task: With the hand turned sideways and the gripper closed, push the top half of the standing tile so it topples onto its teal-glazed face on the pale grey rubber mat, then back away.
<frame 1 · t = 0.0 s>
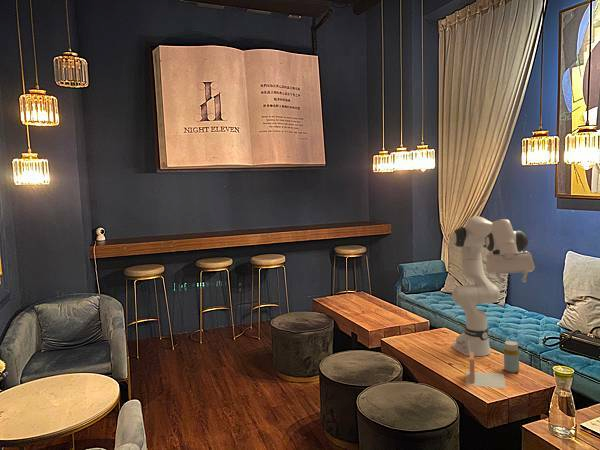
hand: (513, 282, 213), 54 cm above the table, tool tilted 30°, fingers open, 8 cm apart
tile: (472, 378, 241), resting on mat
bottle: (511, 371, 247), on the table
mat: (485, 380, 239), on the table
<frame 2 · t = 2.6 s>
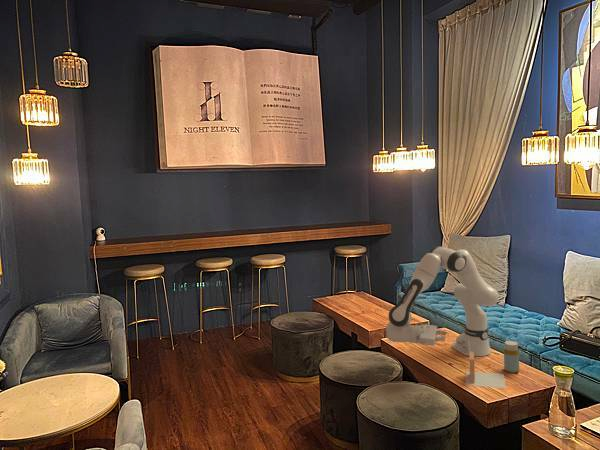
hand: (445, 335, 243), 22 cm above the table, tool horizontal, fingers open, 6 cm apart
nothing on the table moved.
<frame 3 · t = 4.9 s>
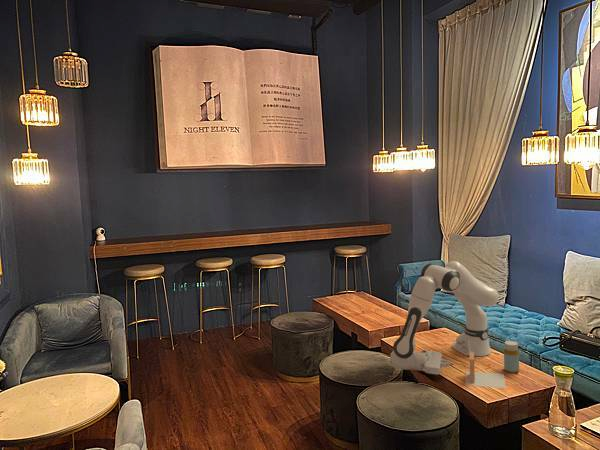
hand: (450, 363, 244), 7 cm above the table, tool horizontal, fingers closed
nothing on the table moved.
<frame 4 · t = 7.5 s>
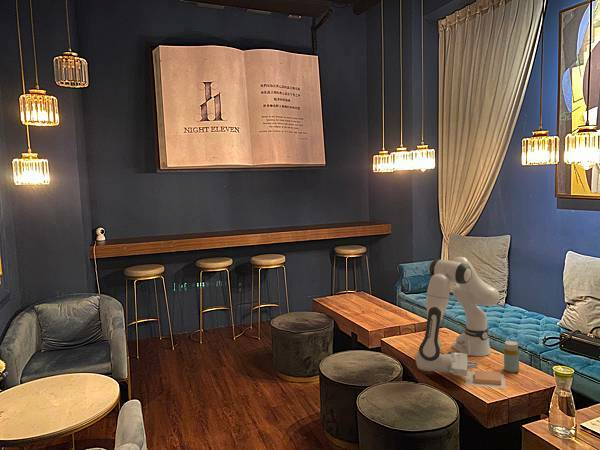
hand: (477, 365, 240), 7 cm above the table, tool horizontal, fingers closed
tile: (474, 376, 241), point 2 cm above the table, tilted 90°, touching mat
everything else where it was.
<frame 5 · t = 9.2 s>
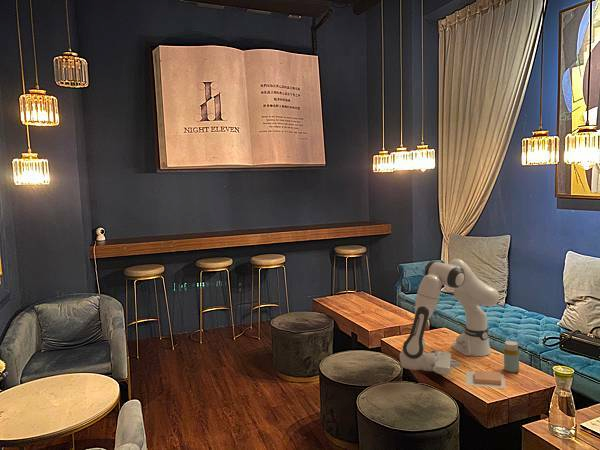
hand: (460, 364, 242), 8 cm above the table, tool horizontal, fingers closed
nothing on the table moved.
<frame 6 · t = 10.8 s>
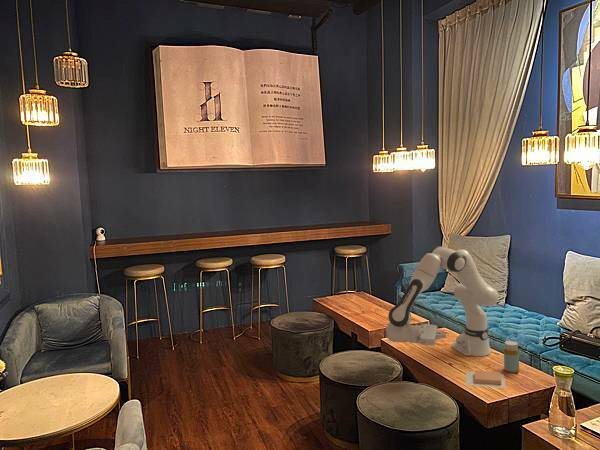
hand: (445, 335, 243), 22 cm above the table, tool horizontal, fingers closed
nothing on the table moved.
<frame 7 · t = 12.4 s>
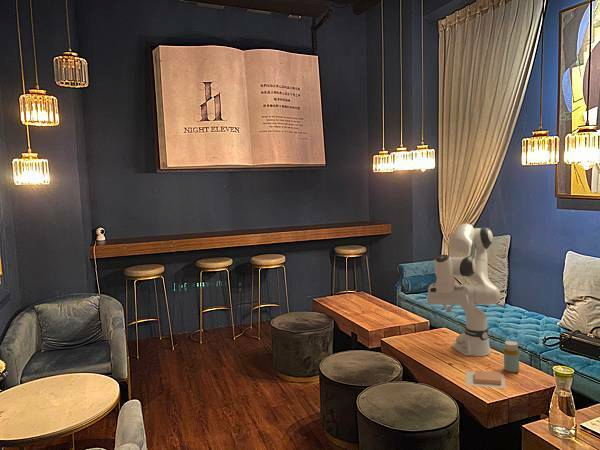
hand: (449, 312, 248), 32 cm above the table, tool pointing down, fingers closed
nothing on the table moved.
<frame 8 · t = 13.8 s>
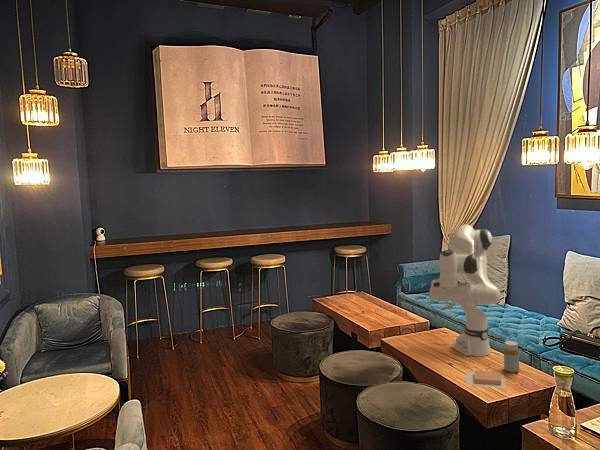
hand: (449, 308, 247), 34 cm above the table, tool pointing down, fingers closed
nothing on the table moved.
at the end: tile tilted 90°; tile inside the target area (0.3 cm from its centre), point 1.6 cm above the table; the gripper is holding nothing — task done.
